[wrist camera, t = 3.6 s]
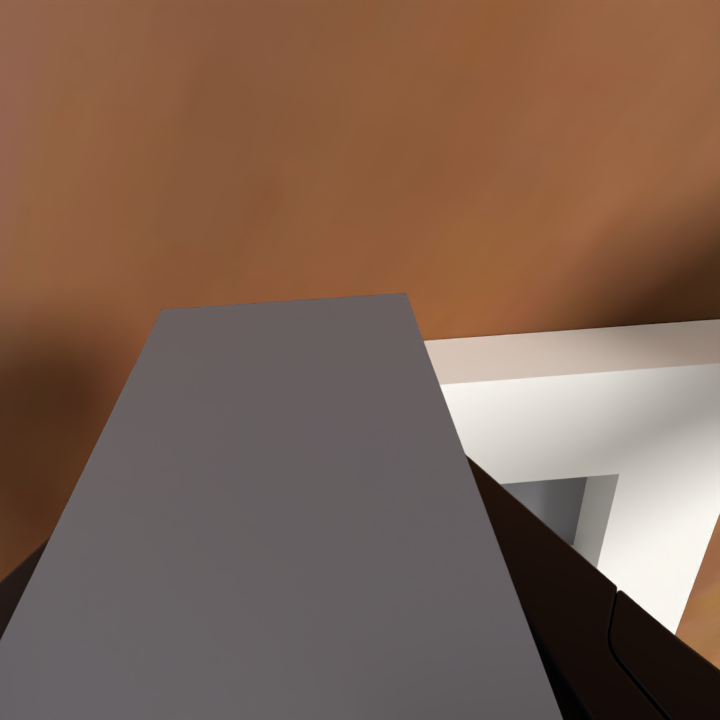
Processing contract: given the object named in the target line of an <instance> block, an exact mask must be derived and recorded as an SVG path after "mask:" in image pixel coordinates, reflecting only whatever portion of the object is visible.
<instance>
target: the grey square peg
mask: <svg viewBox="0 0 720 720" xmlns="http://www.w3.org/2000/svg"><path fill="white" fill-rule="evenodd" d="M0 720H563V718H562V715H561V713H560V710H559V707H558V705H557V702H556V699H555V696H554V694H553V691H552V688H551V686H550V683H549V680H548V677H547V675H546V672H545V669H544V667H543V664H542V661H541V658H540V656H539V653H538V650H537V648H536V645H535V642H534V639H533V637H532V634H531V631H530V629H529V626H528V623H527V620H526V618H525V615H524V612H523V610H522V607H521V604H520V601H519V599H518V596H517V593H516V591H515V588H514V585H513V582H512V580H511V577H510V574H509V572H508V569H507V566H506V563H505V561H504V558H503V555H502V553H501V550H500V547H499V544H498V542H497V539H496V536H495V534H494V531H493V528H492V525H491V523H490V520H489V517H488V515H487V512H486V509H485V506H484V504H483V501H482V498H481V496H480V493H479V490H478V487H477V485H476V482H475V479H474V477H473V474H472V471H471V468H470V466H469V463H468V460H467V458H466V455H465V452H464V449H463V447H462V444H461V441H460V439H459V436H458V433H457V430H456V428H455V425H454V422H453V420H452V417H451V414H450V411H449V409H448V406H447V403H446V401H445V398H444V395H443V392H442V390H441V387H440V384H439V382H438V379H437V376H436V373H435V371H434V368H433V365H432V363H431V360H430V357H429V354H428V352H427V349H426V346H425V344H424V341H423V338H422V335H421V333H420V330H419V327H418V325H417V322H416V319H415V316H414V314H413V311H412V308H411V306H410V303H409V300H408V297H407V295H406V293H397V294H382V295H367V296H353V297H338V298H323V299H309V300H294V301H279V302H264V303H250V304H235V305H220V306H206V307H191V308H176V309H162V310H161V312H160V314H159V316H158V318H157V320H156V322H155V324H154V326H153V328H152V330H151V333H150V335H149V337H148V339H147V341H146V343H145V345H144V347H143V349H142V351H141V353H140V355H139V357H138V359H137V361H136V363H135V365H134V367H133V369H132V372H131V374H130V376H129V378H128V380H127V382H126V384H125V386H124V388H123V390H122V392H121V394H120V396H119V398H118V400H117V402H116V404H115V406H114V408H113V410H112V413H111V415H110V417H109V419H108V421H107V423H106V425H105V427H104V429H103V431H102V433H101V435H100V437H99V439H98V441H97V443H96V445H95V447H94V449H93V451H92V454H91V456H90V458H89V460H88V462H87V464H86V466H85V468H84V470H83V472H82V474H81V476H80V478H79V480H78V482H77V484H76V486H75V488H74V490H73V493H72V495H71V497H70V499H69V501H68V503H67V505H66V507H65V509H64V511H63V513H62V515H61V517H60V519H59V521H58V523H57V525H56V527H55V529H54V531H53V534H52V536H51V538H50V540H49V542H48V544H47V546H46V548H45V550H44V552H43V554H42V556H41V558H40V560H39V562H38V564H37V566H36V568H35V570H34V573H33V575H32V577H31V579H30V581H29V583H28V585H27V587H26V589H25V591H24V593H23V595H22V597H21V599H20V601H19V603H18V605H17V607H16V609H15V611H14V614H13V616H12V618H11V620H10V622H9V624H8V626H7V628H6V630H5V632H4V634H3V636H2V638H1V640H0Z"/></svg>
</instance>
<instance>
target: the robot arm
mask: <svg viewBox="0 0 720 720" xmlns="http://www.w3.org/2000/svg"><path fill="white" fill-rule="evenodd" d="M465 455H466V454H465ZM466 458H467V460H468V463H469V466H470V468H471V471H472V474H473V477H474V479H475V482H476V485H477V487H478V490H479V493H480V496H481V498H482V501H483V504H484V506H485V509H486V512H487V515H488V517H489V520H490V523H491V525H492V528H493V531H494V534H495V536H496V539H497V542H498V544H499V547H500V550H501V553H502V555H503V558H504V561H505V563H506V566H507V569H508V572H509V574H510V577H511V580H512V582H513V585H514V588H515V591H516V593H517V596H518V599H519V601H520V604H521V607H522V610H523V612H524V615H525V618H526V620H527V623H528V626H529V629H530V631H531V634H532V637H533V639H534V642H535V645H536V648H537V650H538V653H539V656H540V658H541V661H542V664H543V667H544V669H545V672H546V675H547V677H548V680H549V683H550V686H551V688H552V691H553V694H554V696H555V699H556V702H557V705H558V707H559V710H560V713H561V715H562V718H563V720H720V670H719V669H718V668H717V667H715V666H714V665H713V664H712V663H710V662H709V661H708V660H706V659H705V658H704V657H702V656H701V655H700V654H698V653H697V652H696V651H695V650H693V649H692V648H691V647H689V646H688V645H687V644H685V643H684V642H683V641H681V640H680V639H679V638H678V637H677V636H675V635H674V634H673V633H672V632H671V631H669V630H668V629H667V628H666V627H665V626H663V625H662V624H661V623H660V622H659V621H657V620H656V619H655V618H654V617H653V616H651V615H650V614H649V613H648V612H647V611H645V610H644V609H643V608H642V607H641V606H640V605H638V604H637V603H636V602H635V601H634V600H633V599H632V598H630V597H629V596H628V595H627V594H626V593H625V592H624V591H622V590H619V591H617V586H616V585H615V584H614V583H613V582H612V581H611V580H609V579H608V578H607V577H606V576H605V575H604V574H603V573H601V572H600V571H599V570H598V569H597V568H596V567H595V566H593V565H592V564H591V563H590V562H589V561H588V560H587V559H585V558H584V557H583V556H582V555H581V554H580V553H578V552H577V551H576V550H575V549H574V548H573V547H572V546H570V545H569V544H568V543H567V542H566V541H565V540H564V539H562V538H561V537H560V536H559V535H558V534H557V533H556V532H554V531H553V530H552V529H551V528H550V527H549V526H548V525H546V524H545V523H544V522H543V521H542V520H541V519H539V518H538V517H537V516H536V515H535V514H534V513H533V512H531V511H530V510H529V509H528V508H527V507H526V506H525V505H523V504H522V503H521V502H520V501H519V500H518V499H517V498H515V497H514V496H513V495H512V494H511V493H510V492H509V491H507V490H506V489H505V488H504V487H503V486H502V485H500V484H499V483H498V482H497V481H496V480H495V479H494V478H492V477H491V476H490V475H489V474H488V473H487V472H486V471H484V470H483V469H482V468H481V467H480V466H479V465H478V464H476V463H475V462H474V461H473V460H472V459H471V458H470V457H468V456H467V455H466ZM50 538H51V537H50ZM50 538H48V539H47V540H46V541H45V542H44V543H43V544H42V545H41V546H40V547H38V548H37V549H36V550H35V551H34V552H33V553H32V554H31V555H29V556H28V557H27V558H26V559H25V560H24V561H23V562H22V563H21V564H19V565H18V566H17V567H16V568H15V569H14V570H13V571H12V572H10V573H9V574H8V575H7V576H6V577H5V578H4V579H3V580H2V581H0V640H1V638H2V636H3V634H4V632H5V630H6V628H7V626H8V624H9V622H10V620H11V618H12V616H13V614H14V611H15V609H16V607H17V605H18V603H19V601H20V599H21V597H22V595H23V593H24V591H25V589H26V587H27V585H28V583H29V581H30V579H31V577H32V575H33V573H34V570H35V568H36V566H37V564H38V562H39V560H40V558H41V556H42V554H43V552H44V550H45V548H46V546H47V544H48V542H49V540H50Z"/></svg>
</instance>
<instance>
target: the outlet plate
mask: <svg viewBox="0 0 720 720" xmlns="http://www.w3.org/2000/svg"><path fill="white" fill-rule="evenodd" d="M424 344H425V346H426V349H427V352H428V354H429V357H430V360H431V363H432V365H433V368H434V371H435V373H436V376H437V379H438V382H439V384H440V387H441V390H442V392H443V395H444V398H445V401H446V403H447V406H448V409H449V411H450V414H451V417H452V420H453V422H454V425H455V428H456V430H457V433H458V436H459V439H460V441H461V444H462V447H463V449H464V452H465V454H466V455H467V456H468V457H470V458H471V459H472V460H473V461H474V462H475V463H476V464H478V465H479V466H480V467H481V468H482V469H483V470H484V471H486V472H487V473H488V474H489V475H490V476H491V477H492V478H494V479H495V480H496V481H497V482H498V483H499V484H500V485H502V486H503V487H504V488H505V489H506V490H507V491H509V492H510V493H511V494H512V495H513V496H514V497H515V498H517V499H518V500H519V501H520V502H521V503H522V504H523V505H525V506H526V507H527V508H528V509H529V510H530V511H531V512H533V513H534V514H535V515H536V516H537V517H538V518H539V519H541V520H542V521H543V522H544V523H545V524H546V525H548V526H549V527H550V528H551V529H552V530H553V531H554V532H556V533H557V534H558V535H559V536H560V537H561V538H562V539H564V540H565V541H566V542H567V543H568V544H569V545H570V546H572V547H573V548H574V549H575V550H576V551H577V552H578V553H580V554H581V555H582V556H583V557H584V558H585V559H587V560H588V561H589V562H590V563H591V564H592V565H593V566H595V567H596V568H597V569H598V570H599V571H600V572H601V573H603V574H604V575H605V576H606V577H607V578H608V579H609V580H611V581H612V582H613V583H614V584H615V585H616V586H617V591H619V590H622V591H624V592H625V593H626V594H627V595H628V596H629V597H630V598H632V599H633V600H634V601H635V602H636V603H637V604H638V605H640V606H641V607H642V608H643V609H644V610H645V611H647V612H648V613H649V614H650V615H651V616H653V617H654V618H655V619H656V620H657V621H659V622H660V623H661V624H662V625H663V626H665V627H666V628H667V629H668V630H669V631H671V632H672V633H673V634H674V635H675V633H676V630H677V627H678V624H679V622H680V619H681V616H682V614H683V611H684V608H685V605H686V603H687V600H688V597H689V594H690V592H691V589H692V586H693V584H694V581H695V578H696V575H697V573H698V570H699V567H700V565H701V562H702V559H703V556H704V554H705V551H706V548H707V545H708V543H709V540H710V537H711V535H712V532H713V529H714V526H715V524H716V521H717V518H718V516H719V513H720V319H717V320H703V321H690V322H676V323H662V324H648V325H635V326H621V327H607V328H594V329H580V330H566V331H552V332H539V333H525V334H511V335H497V336H484V337H470V338H456V339H443V340H429V341H424Z"/></svg>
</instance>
